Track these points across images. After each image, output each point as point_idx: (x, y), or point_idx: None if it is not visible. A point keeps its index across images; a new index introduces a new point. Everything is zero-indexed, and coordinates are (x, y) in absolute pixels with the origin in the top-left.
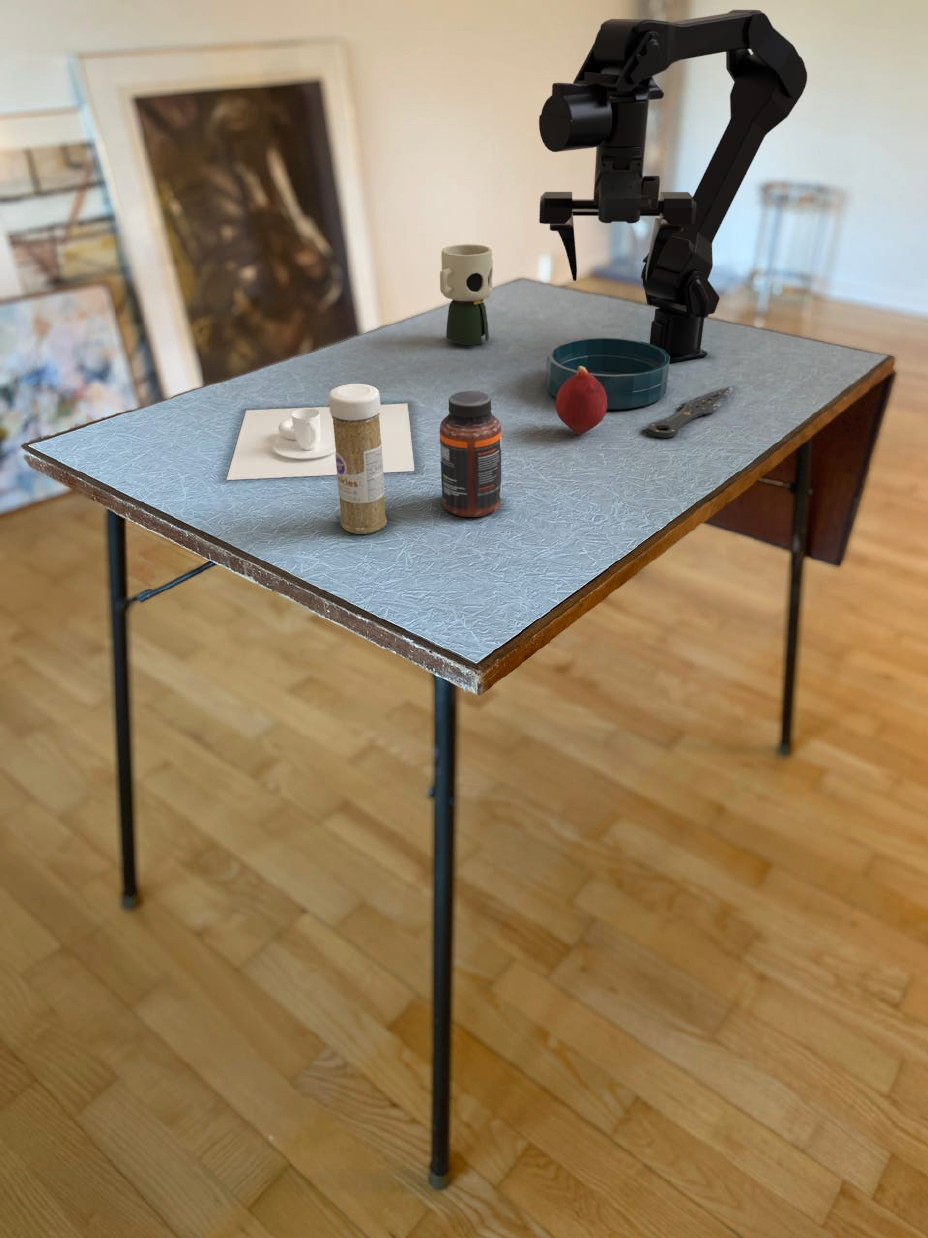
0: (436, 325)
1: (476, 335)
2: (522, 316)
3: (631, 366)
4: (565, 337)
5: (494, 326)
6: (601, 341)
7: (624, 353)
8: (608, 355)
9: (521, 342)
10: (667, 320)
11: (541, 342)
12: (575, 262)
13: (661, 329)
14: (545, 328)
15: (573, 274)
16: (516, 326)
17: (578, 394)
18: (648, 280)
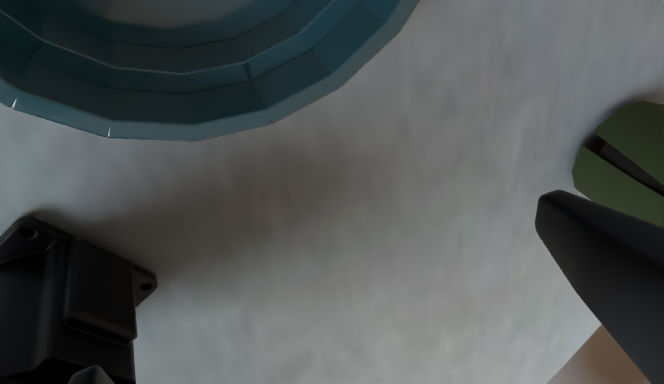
0: None
1: (623, 132)
2: (484, 330)
3: (112, 51)
4: (387, 268)
5: (542, 259)
6: (270, 98)
7: (160, 93)
8: (222, 67)
9: (489, 196)
10: (55, 337)
11: (442, 215)
12: (646, 253)
13: (77, 301)
14: (436, 296)
15: (586, 205)
16: (497, 279)
17: None
18: (78, 371)
